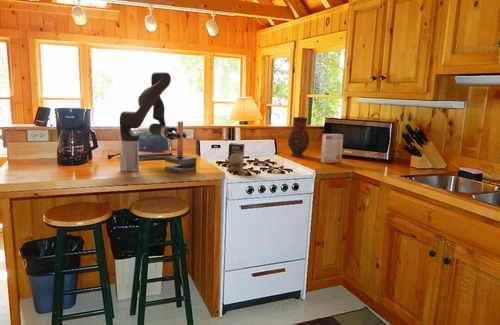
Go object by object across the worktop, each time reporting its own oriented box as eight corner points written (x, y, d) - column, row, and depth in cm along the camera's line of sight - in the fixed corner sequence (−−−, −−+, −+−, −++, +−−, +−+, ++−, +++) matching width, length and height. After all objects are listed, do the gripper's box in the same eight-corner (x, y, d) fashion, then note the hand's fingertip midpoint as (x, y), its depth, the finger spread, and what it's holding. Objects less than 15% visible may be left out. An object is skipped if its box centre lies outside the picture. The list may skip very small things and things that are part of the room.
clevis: (178, 174, 210) (179, 160, 209) (164, 170, 217) (164, 157, 216) (196, 171, 221) (196, 157, 219) (182, 167, 228) (182, 154, 226)
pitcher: (290, 158, 282) (293, 118, 277) (282, 153, 303) (284, 115, 297) (311, 158, 286) (314, 118, 280) (301, 153, 306) (304, 116, 301)
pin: (179, 157, 215) (180, 122, 211) (176, 156, 217) (176, 121, 213) (183, 156, 217) (184, 121, 213) (180, 155, 219) (180, 121, 215)
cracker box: (336, 162, 276) (339, 133, 272) (341, 163, 270) (344, 134, 266) (319, 162, 271) (322, 133, 267) (324, 163, 266) (326, 134, 262)
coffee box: (227, 170, 226) (228, 144, 223) (228, 168, 233) (229, 142, 230) (242, 171, 226) (243, 145, 223) (243, 169, 232) (244, 143, 229)
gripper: (158, 126, 221) (171, 130, 207) (179, 126, 229) (193, 129, 216) (158, 139, 222) (171, 143, 209) (179, 138, 231) (193, 142, 217)
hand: (182, 136), depth 212 cm, fingers closed on pin, 3 cm apart
